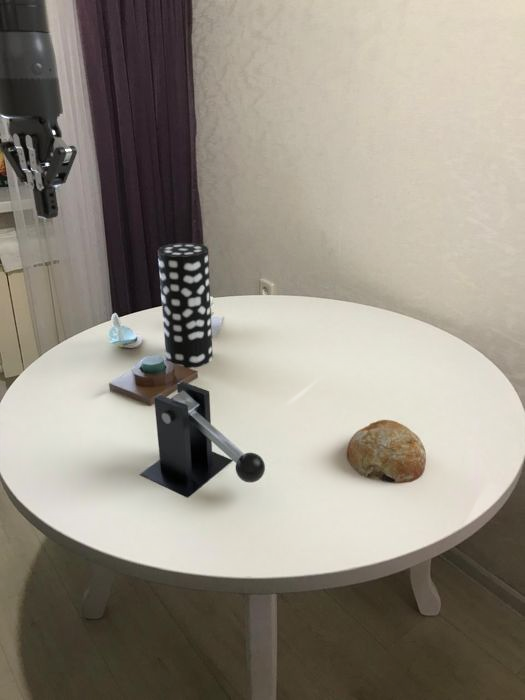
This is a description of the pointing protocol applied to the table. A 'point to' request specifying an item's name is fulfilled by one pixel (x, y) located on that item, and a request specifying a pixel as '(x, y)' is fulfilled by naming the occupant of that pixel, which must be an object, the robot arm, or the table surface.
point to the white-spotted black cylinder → (186, 303)
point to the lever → (224, 442)
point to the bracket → (183, 445)
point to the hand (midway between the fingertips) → (48, 217)
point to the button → (152, 364)
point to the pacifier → (122, 334)
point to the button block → (152, 382)
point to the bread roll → (387, 452)
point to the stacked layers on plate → (215, 321)
